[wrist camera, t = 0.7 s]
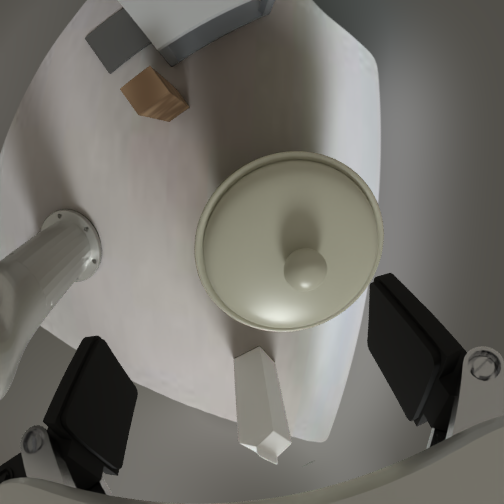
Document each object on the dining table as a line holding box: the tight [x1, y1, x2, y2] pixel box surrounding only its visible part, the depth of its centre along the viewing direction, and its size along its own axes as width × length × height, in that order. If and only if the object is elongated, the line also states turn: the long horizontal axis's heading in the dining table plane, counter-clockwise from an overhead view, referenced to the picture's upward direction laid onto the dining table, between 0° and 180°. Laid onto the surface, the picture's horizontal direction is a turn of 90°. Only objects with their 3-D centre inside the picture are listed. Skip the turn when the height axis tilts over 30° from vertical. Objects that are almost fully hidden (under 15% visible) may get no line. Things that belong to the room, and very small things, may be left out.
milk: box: [234, 346, 292, 465], centre depth 42 cm, size 6×6×22 cm
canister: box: [194, 151, 384, 332], centre depth 31 cm, size 18×18×21 cm
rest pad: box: [85, 8, 151, 74], centre depth 27 cm, size 9×9×1 cm
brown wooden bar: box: [120, 66, 189, 122], centre depth 27 cm, size 3×3×14 cm
